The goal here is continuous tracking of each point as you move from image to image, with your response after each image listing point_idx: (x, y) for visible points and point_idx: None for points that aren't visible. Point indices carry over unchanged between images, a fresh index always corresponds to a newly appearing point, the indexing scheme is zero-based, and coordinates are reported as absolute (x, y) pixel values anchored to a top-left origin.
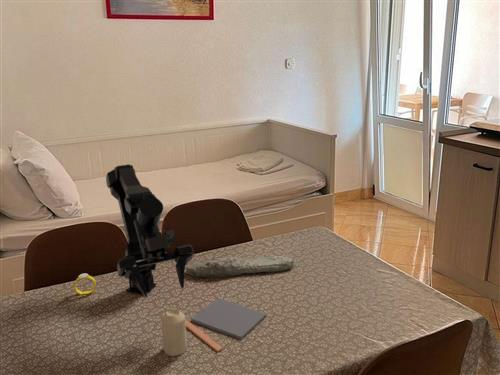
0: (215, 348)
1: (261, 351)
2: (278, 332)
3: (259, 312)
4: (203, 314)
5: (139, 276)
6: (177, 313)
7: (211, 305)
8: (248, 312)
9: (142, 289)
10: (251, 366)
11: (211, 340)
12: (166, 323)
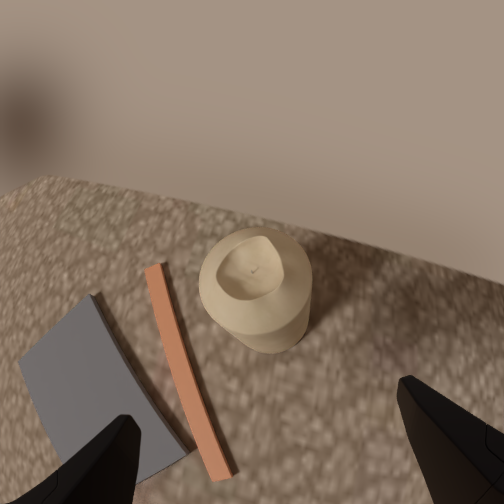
0: (161, 272)
1: (83, 240)
2: (31, 292)
3: (24, 376)
4: (142, 455)
5: (502, 470)
6: (227, 279)
7: None
8: (40, 392)
9: (444, 396)
10: (122, 199)
11: (158, 313)
12: (292, 238)
